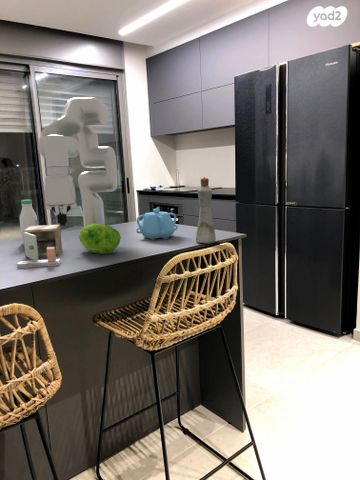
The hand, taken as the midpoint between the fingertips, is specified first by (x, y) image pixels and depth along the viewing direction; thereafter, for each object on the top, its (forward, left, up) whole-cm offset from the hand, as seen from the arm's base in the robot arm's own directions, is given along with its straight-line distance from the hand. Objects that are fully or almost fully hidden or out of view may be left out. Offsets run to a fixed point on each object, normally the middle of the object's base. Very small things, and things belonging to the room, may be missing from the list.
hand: (62, 225), depth 137 cm
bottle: (-56, -21, -14) cm, 62 cm away
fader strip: (+9, 0, -14) cm, 17 cm away
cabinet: (+11, -21, -14) cm, 28 cm away
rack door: (+15, -10, -14) cm, 23 cm away
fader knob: (+5, 0, -12) cm, 13 cm away
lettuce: (-11, -14, -14) cm, 23 cm away
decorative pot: (-37, -39, -14) cm, 56 cm away
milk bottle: (+21, -43, -14) cm, 50 cm away
